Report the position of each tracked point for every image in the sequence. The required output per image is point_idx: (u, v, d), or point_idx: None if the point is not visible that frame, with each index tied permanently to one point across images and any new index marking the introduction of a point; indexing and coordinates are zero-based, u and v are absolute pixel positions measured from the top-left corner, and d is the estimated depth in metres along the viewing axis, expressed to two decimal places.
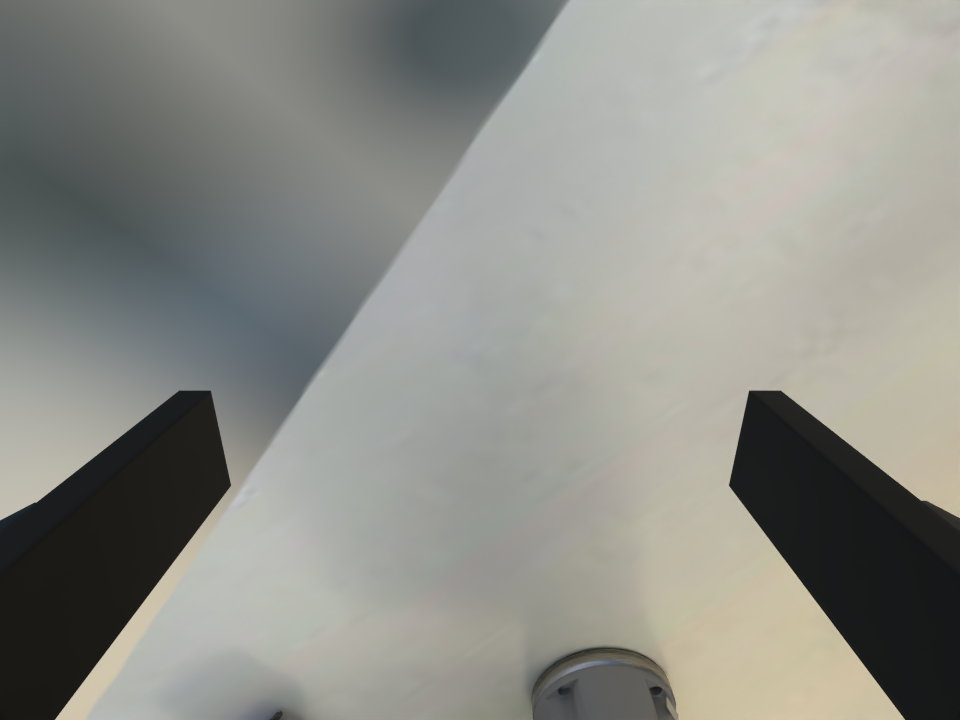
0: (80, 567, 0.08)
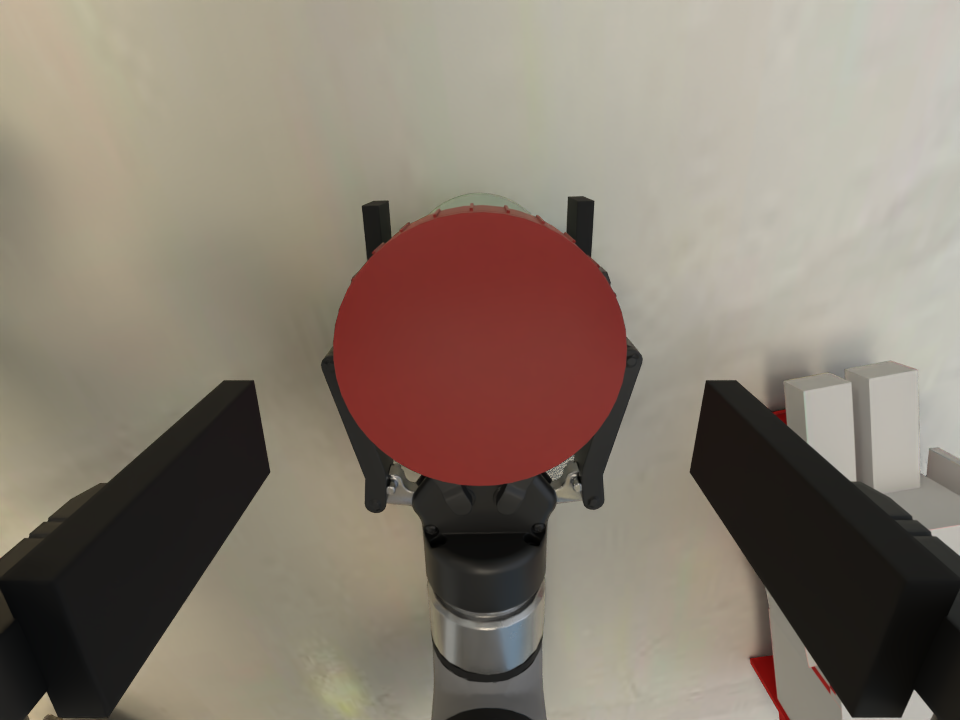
0: (151, 541, 0.09)
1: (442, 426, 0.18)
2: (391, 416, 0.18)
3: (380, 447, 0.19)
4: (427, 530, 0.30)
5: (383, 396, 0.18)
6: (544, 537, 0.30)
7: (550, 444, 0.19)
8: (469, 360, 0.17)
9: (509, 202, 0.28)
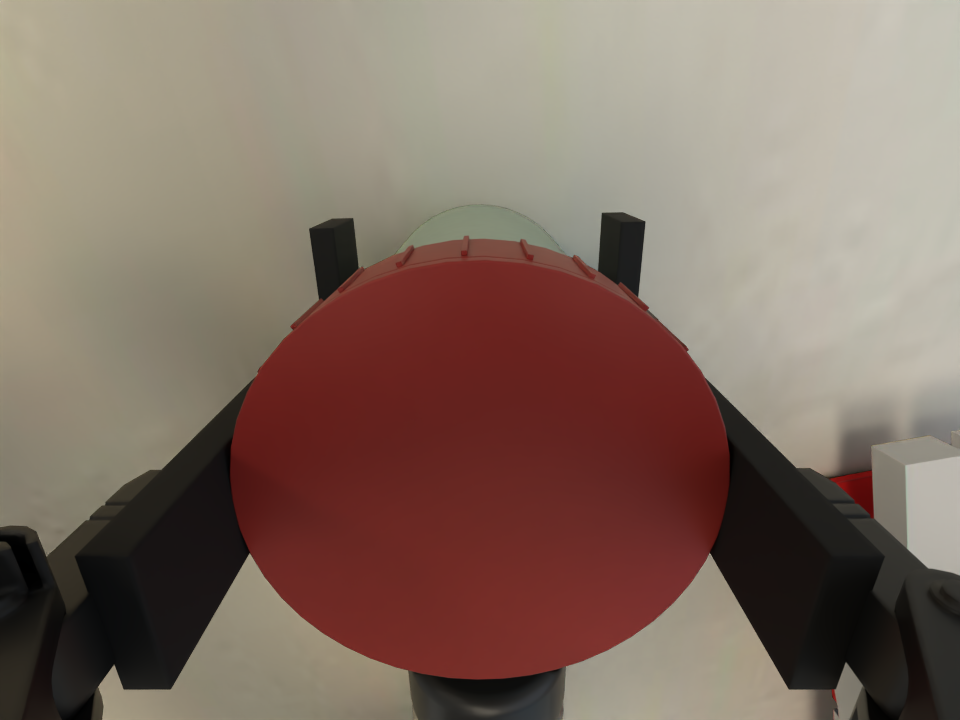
0: (205, 523, 0.09)
1: (418, 598, 0.11)
2: (335, 584, 0.11)
3: (318, 627, 0.12)
4: None
5: (320, 556, 0.11)
6: None
7: (593, 623, 0.12)
8: (462, 503, 0.10)
9: (519, 218, 0.21)
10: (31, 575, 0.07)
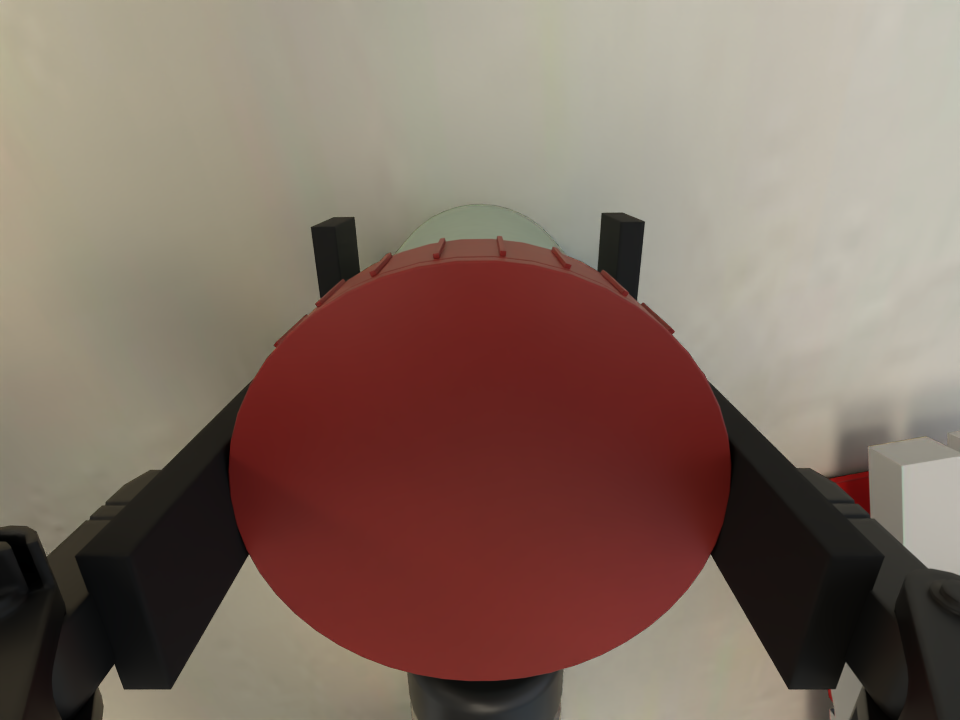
0: (205, 523, 0.09)
1: (619, 495, 0.10)
2: (644, 562, 0.11)
3: (708, 550, 0.11)
4: None
5: (617, 585, 0.11)
6: None
7: (543, 322, 0.09)
8: (485, 523, 0.10)
9: (519, 218, 0.21)
10: (31, 575, 0.07)
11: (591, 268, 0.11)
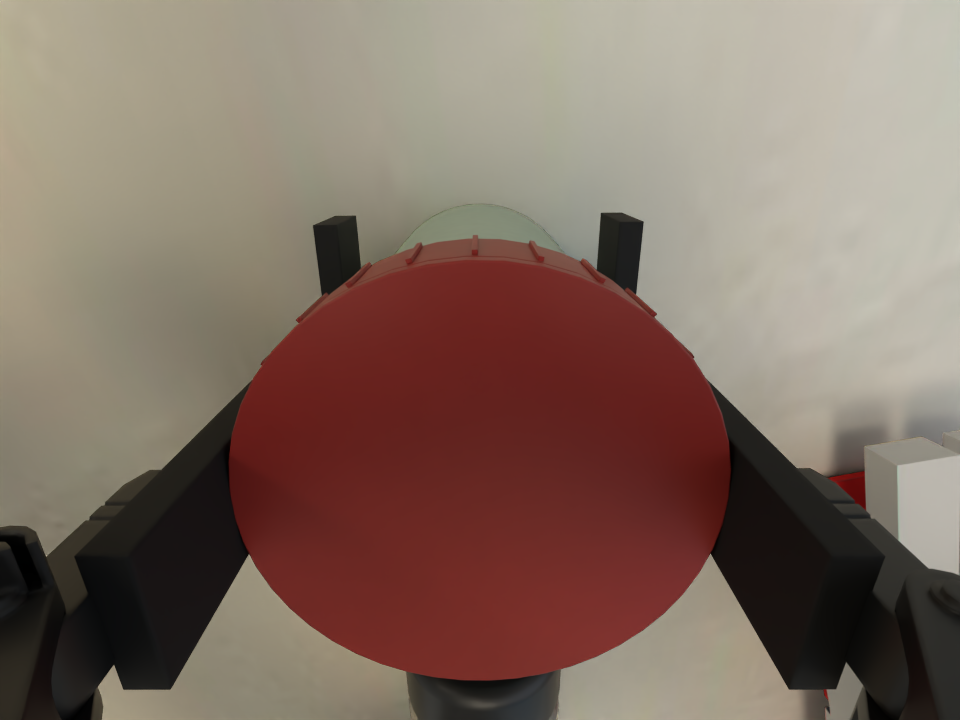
0: (205, 524, 0.09)
1: (379, 417, 0.10)
2: (428, 338, 0.09)
3: (365, 289, 0.09)
4: None
5: (474, 340, 0.09)
6: None
7: (298, 563, 0.11)
8: (491, 496, 0.10)
9: (519, 217, 0.21)
10: (30, 575, 0.07)
11: None
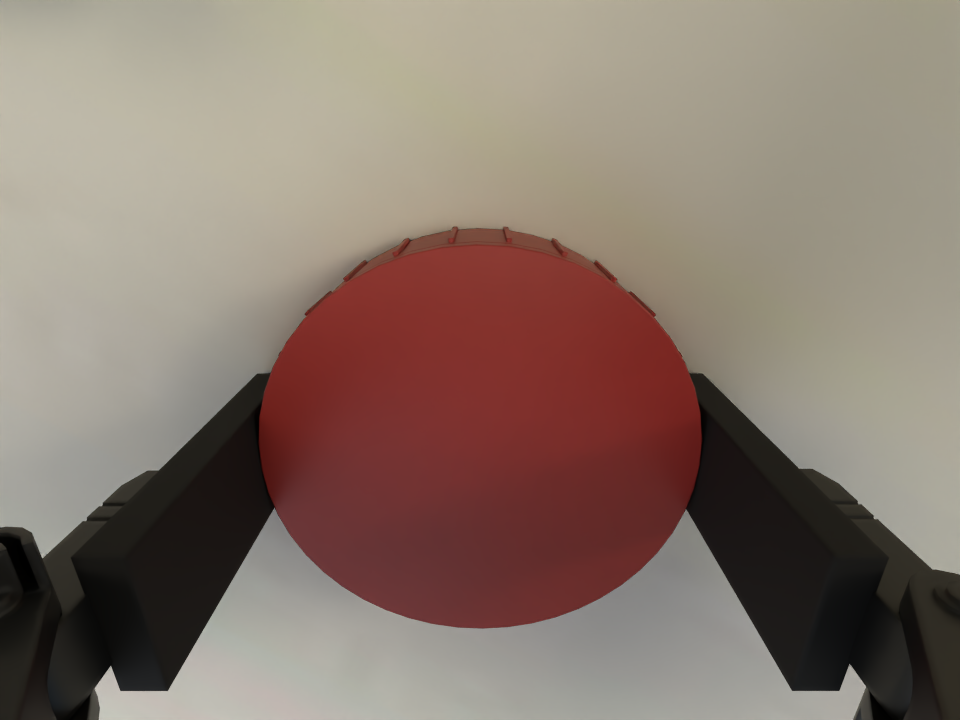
0: (202, 524, 0.09)
1: (456, 560, 0.13)
2: (382, 564, 0.13)
3: (381, 605, 0.13)
4: None
5: (362, 542, 0.12)
6: None
7: (618, 548, 0.12)
8: (463, 466, 0.12)
9: None
10: (26, 576, 0.07)
11: None
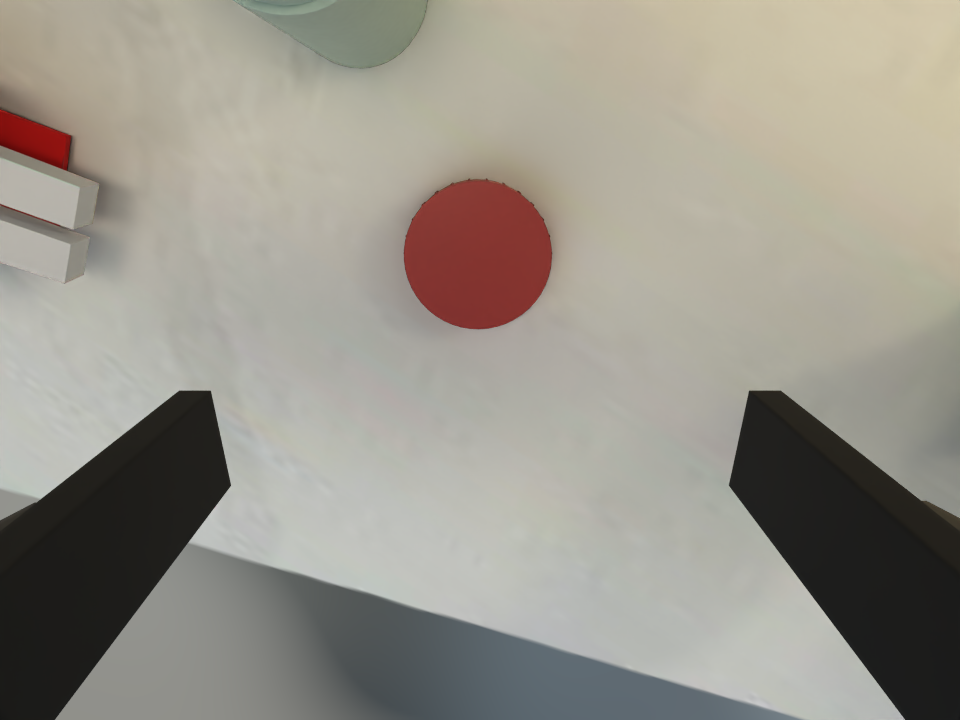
0: (80, 567, 0.08)
1: (469, 298, 0.36)
2: (443, 299, 0.36)
3: (442, 318, 0.36)
4: None
5: (436, 290, 0.35)
6: None
7: (526, 292, 0.35)
8: (472, 258, 0.35)
9: (390, 47, 0.30)
10: None
11: None
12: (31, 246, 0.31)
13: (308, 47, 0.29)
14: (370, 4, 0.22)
